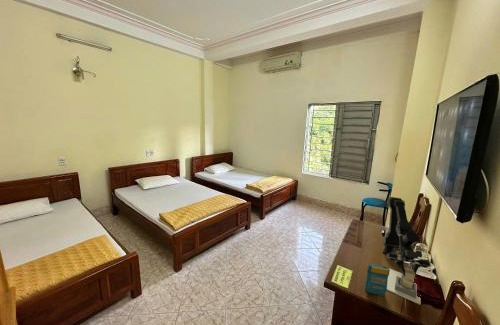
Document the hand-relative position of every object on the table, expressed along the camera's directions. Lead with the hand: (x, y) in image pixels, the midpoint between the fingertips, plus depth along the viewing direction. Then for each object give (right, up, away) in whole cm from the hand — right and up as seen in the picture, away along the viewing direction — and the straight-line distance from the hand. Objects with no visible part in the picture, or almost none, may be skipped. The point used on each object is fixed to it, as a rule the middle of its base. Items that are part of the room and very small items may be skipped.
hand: (409, 277), depth 110 cm
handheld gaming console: (-18, -9, +1) cm, 20 cm away
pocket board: (+1, -8, +6) cm, 10 cm away
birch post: (0, -6, +3) cm, 7 cm away
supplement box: (+22, 0, +46) cm, 51 cm away
